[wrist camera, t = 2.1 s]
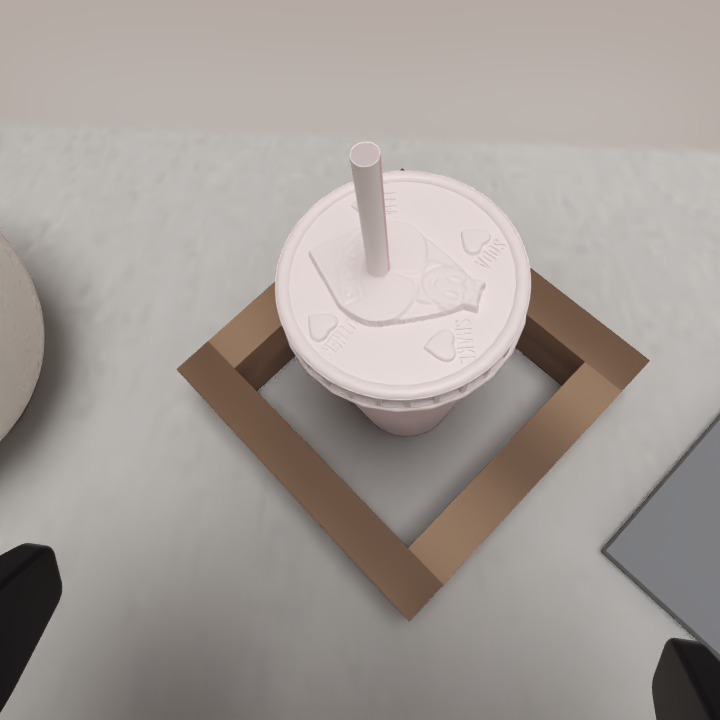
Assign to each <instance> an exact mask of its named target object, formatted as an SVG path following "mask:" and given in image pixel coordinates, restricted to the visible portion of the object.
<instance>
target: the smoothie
mask: <svg viewBox="0 0 720 720" xmlns="http://www.w3.org/2000/svg"><path fill="white" fill-rule="evenodd" d="M350 161H351V167H352V174H353V181H351V182H349V183H346V184H344V185H342V186H340V187H338V188H337V189H335V190H333V191H332V192H330V193H328V194H327V195H325V196H324V197H323V198H321V199H320V200H319V201H318V202H316V203H315V204H314V205H313V206H312V207H311V208H310V209H309V210H308V211H307V212H306V213H305V214H304V215H303V216H302V217H301V218H300V220H299V221H298V222H297V224H296V225H295V226H294V228H293V229H292V231H291V233H290V234H289V236H288V238H287V240H286V242H285V244H284V246H283V249H282V252H281V254H280V257H279V261H278V265H277V270H276V277H275V297H276V305H277V310H278V314H279V318H280V321H281V324H282V326H283V328H284V331H285V334H286V337H287V340H288V343H289V346H290V348H291V349H292V351H293V352H294V354H295V355H296V357H297V358H298V360H299V361H300V362H301V364H302V365H303V367H304V368H305V370H306V371H307V373H309V374H310V375H311V376H312V377H313V378H315V379H316V380H317V381H318V382H319V383H321V384H322V385H323V386H324V387H326V388H327V389H328V390H329V391H330V392H332V393H333V394H335V395H338V396H340V397H342V398H344V399H347V400H349V401H351V402H353V403H355V404H356V405H357V407H358V408H359V409H360V410H361V411H362V412H363V413H364V414H365V415H366V416H367V417H368V418H369V419H370V420H371V421H372V422H373V423H374V424H375V425H376V426H378V427H379V428H381V429H382V430H384V431H386V432H388V433H391V434H394V435H399V436H414V435H419V434H422V433H425V432H427V431H429V430H431V429H433V428H434V427H436V426H437V425H438V424H439V423H440V422H441V421H442V420H443V419H444V418H445V416H446V415H447V414H448V413H449V412H450V410H451V409H452V408H453V407H454V405H455V404H456V403H457V402H458V400H459V399H461V398H464V397H466V396H467V395H468V394H470V393H471V392H473V391H474V390H476V389H477V388H479V387H480V386H481V385H483V384H484V383H486V382H487V381H489V380H490V379H491V378H493V376H494V375H495V374H496V373H497V371H498V370H499V369H500V368H501V367H502V365H503V364H504V363H505V362H506V361H507V359H508V358H509V357H510V356H511V355H512V353H513V352H514V349H515V347H516V345H517V342H518V340H519V338H520V335H521V333H522V331H523V328H524V326H525V323H526V313H527V310H528V306H529V301H530V293H531V272H530V265H529V260H528V256H527V252H526V250H525V247H524V244H523V242H522V240H521V238H520V235H519V233H518V232H517V230H516V228H515V227H514V225H513V224H512V222H511V221H510V220H509V218H508V217H507V216H506V214H505V213H504V212H503V211H502V210H501V209H500V208H499V207H498V206H497V205H496V204H495V203H494V202H492V201H491V200H490V199H489V198H488V197H486V196H485V195H483V194H482V193H481V192H479V191H477V190H476V189H474V188H472V187H470V186H469V185H467V184H464V183H462V182H460V181H458V180H455V179H452V178H449V177H446V176H443V175H439V174H435V173H429V172H422V171H389V172H382V164H381V152H380V149H379V147H378V146H377V145H376V144H374V143H372V142H360V143H358V144H356V145H355V146H354V147H353V148H352V149H351V151H350Z"/></svg>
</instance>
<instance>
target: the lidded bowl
mask: <svg viewBox="0 0 720 720" xmlns="http://www.w3.org/2000/svg"><path fill="white" fill-rule="evenodd" d="M44 340H45V337H44V323H43V313H42V308H41V305H40V302H39V298H38V295H37V292H36V289H35V287H34V284H33V281H32V279H31V277H30V275H29V273H28V271H27V269H26V267H25V265H24V264H23V262H22V260H21V259H20V257H19V256H18V254H17V253H16V251H15V250H14V248H13V247H12V245H11V244H10V243H9V241H8V240H7V239H6V238H5V237H4V235H3V234H2V233H1V232H0V441H1V440H2V439H3V438H4V437H5V436H6V435H7V433H8V432H9V431H10V430H11V428H12V427H13V426H14V425H15V423H16V422H17V420H18V419H19V418H20V416H21V415H22V413H23V412H24V410H25V408H26V406H27V404H28V403H29V401H30V398H31V396H32V394H33V391H34V389H35V386H36V383H37V381H38V378H39V375H40V370H41V366H42V361H43V356H44Z"/></svg>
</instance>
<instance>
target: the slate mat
mask: <svg viewBox="0 0 720 720" xmlns="http://www.w3.org/2000/svg"><path fill="white" fill-rule="evenodd" d="M601 552H602V553H603V554H604V555H606V556H607V557H608V558H609V559H610V560H611V561H612V562H613V563H614V564H615V565H616V566H618V567H619V568H620V569H621V570H622V571H623V572H624V573H625V574H626V575H627V576H628V577H630V578H631V579H632V580H633V581H634V582H635V583H636V584H637V585H638V586H639V587H641V588H642V589H643V590H644V591H645V592H646V593H647V594H648V595H649V596H650V597H651V598H653V599H654V600H655V601H656V602H657V603H658V604H659V605H660V606H661V607H662V608H663V609H665V610H666V611H667V612H668V613H669V614H670V615H671V616H672V617H673V618H674V619H675V620H677V621H678V622H679V623H680V624H681V625H682V626H683V627H684V628H685V629H686V630H687V631H689V632H690V633H691V634H692V635H693V636H694V637H695V638H696V639H697V640H698V641H700V642H701V643H702V644H704V645H705V646H706V647H707V648H709V650H710V651H711V652H712V653H713V654H714V655H715V656H716V657H717V658H718V659H719V660H720V415H719V416H718V417H717V419H716V420H715V421H714V422H713V423H712V424H711V426H710V427H709V428H708V429H707V430H706V431H705V432H704V434H703V435H702V436H701V437H700V438H699V439H698V440H697V442H696V443H695V444H694V445H693V446H692V447H691V448H690V450H689V451H688V452H687V453H686V454H685V455H684V457H683V458H682V459H681V460H680V461H679V462H678V463H677V465H676V466H675V467H674V468H673V469H672V470H671V471H670V473H669V474H668V475H667V476H666V477H665V478H664V479H663V481H662V482H661V483H660V484H659V485H658V486H657V487H656V489H655V490H654V491H653V492H652V493H651V494H650V496H649V497H648V498H647V499H646V500H645V501H644V502H643V504H642V505H641V506H640V507H639V508H638V509H637V510H636V512H635V513H634V514H633V515H632V516H631V517H630V518H629V520H628V521H627V522H626V523H625V524H624V525H623V527H622V528H621V529H620V530H619V531H618V532H617V533H616V535H615V536H614V537H613V538H612V539H611V540H610V541H609V543H608V544H607V545H606V546H605V547H604V548H603V549H602V551H601Z"/></svg>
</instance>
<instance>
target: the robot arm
mask: <svg viewBox="0 0 720 720" xmlns="http://www.w3.org/2000/svg"><path fill="white" fill-rule="evenodd" d="M61 594H62V581H61V577H60V573H59V569H58V565H57V561H56V557H55V553H54V551H53V549H52V548H51V547H49V546H45V545H39V544H32V543H25V544H21V545H19V546H17V547H15V548H13V549H11V550H10V551H8V552H6V553H4V554H2V555H0V712H1V711H2V709H3V707H4V706H5V704H6V702H7V701H8V699H9V697H10V696H11V694H12V692H13V690H14V688H15V686H16V685H17V683H18V681H19V679H20V677H21V675H22V673H23V671H24V669H25V667H26V665H27V663H28V661H29V659H30V657H31V655H32V653H33V652H34V650H35V648H36V646H37V644H38V642H39V640H40V638H41V636H42V634H43V632H44V630H45V628H46V626H47V624H48V622H49V620H50V618H51V616H52V614H53V612H54V611H55V609H56V607H57V605H58V603H59V600H60V597H61ZM652 695H653V702H654V708H655V714H656V720H720V660H719V659H718V658H717V657H716V656H715V655H714V654H713V653H712V652H711V651H710V650H709V648H707V647H706V646H705V645H704V644H702V643H700V642H698V641H692V640H685V639H678V638H670V639H669V640H668V641H667V642H666V644H665V646H664V649H663V651H662V654H661V657H660V660H659V662H658V665H657V668H656V671H655V673H654V677H653V682H652Z"/></svg>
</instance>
